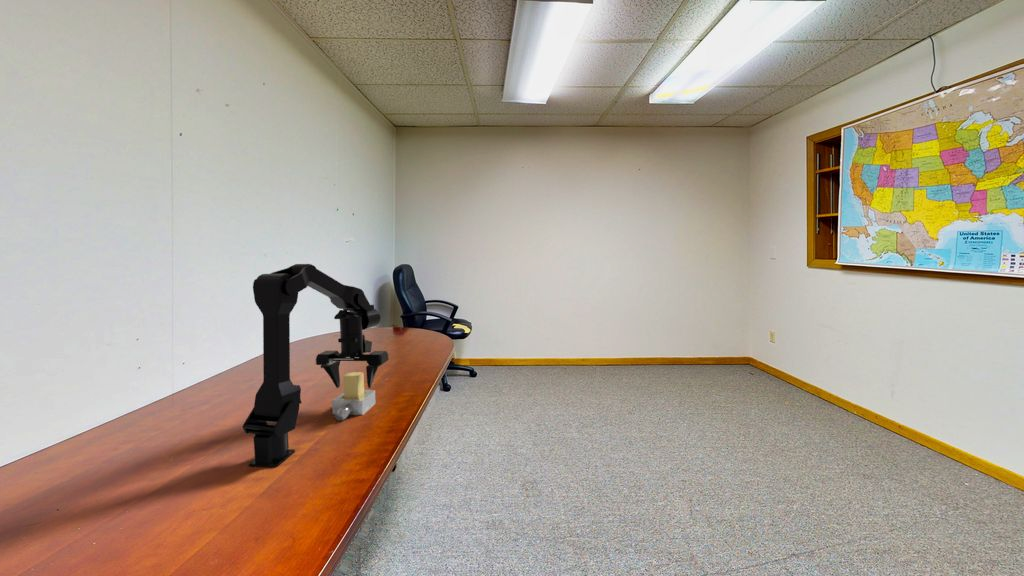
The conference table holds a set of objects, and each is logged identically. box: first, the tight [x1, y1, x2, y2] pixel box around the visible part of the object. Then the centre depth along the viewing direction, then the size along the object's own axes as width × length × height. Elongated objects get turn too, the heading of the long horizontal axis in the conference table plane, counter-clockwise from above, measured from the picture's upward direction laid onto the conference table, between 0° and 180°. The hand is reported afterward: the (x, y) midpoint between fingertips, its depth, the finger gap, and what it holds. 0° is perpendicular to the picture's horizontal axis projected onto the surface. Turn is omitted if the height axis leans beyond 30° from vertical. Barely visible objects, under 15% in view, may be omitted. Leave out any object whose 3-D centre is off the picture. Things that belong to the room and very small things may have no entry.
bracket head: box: [331, 388, 377, 422], centre depth 114 cm, size 16×8×4 cm, turn 176°
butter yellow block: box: [342, 371, 365, 399], centre depth 114 cm, size 4×4×10 cm
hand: (354, 387), depth 113 cm, fingers open, 9 cm apart
